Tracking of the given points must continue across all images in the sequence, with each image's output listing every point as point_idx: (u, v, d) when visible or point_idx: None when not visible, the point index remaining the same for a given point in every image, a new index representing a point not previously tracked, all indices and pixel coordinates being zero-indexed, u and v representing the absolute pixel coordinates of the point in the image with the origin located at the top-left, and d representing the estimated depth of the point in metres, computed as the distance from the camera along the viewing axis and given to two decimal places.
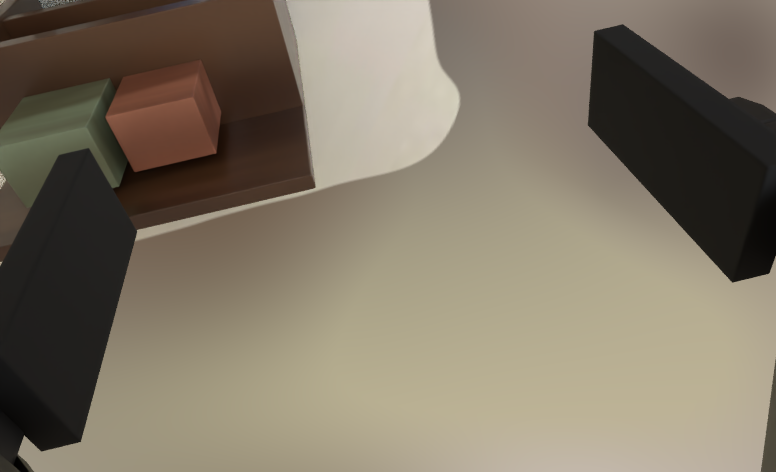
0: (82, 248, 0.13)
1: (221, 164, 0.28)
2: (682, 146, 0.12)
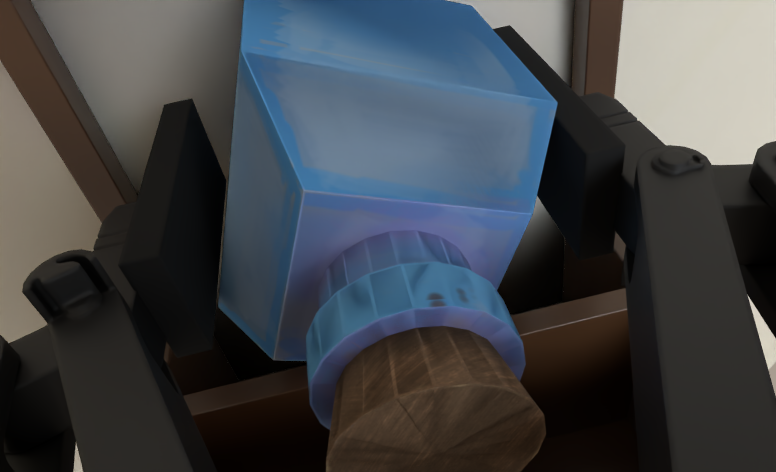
0: (196, 184, 0.14)
1: None
2: None
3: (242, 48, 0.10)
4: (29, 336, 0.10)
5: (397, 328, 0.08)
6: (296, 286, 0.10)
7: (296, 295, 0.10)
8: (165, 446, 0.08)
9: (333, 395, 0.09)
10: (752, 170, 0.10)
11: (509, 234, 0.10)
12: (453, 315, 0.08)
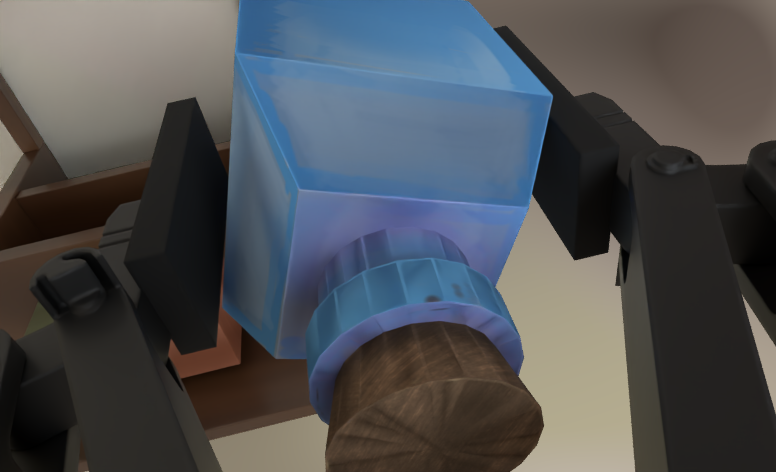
0: (200, 183, 0.14)
1: (245, 370, 0.27)
2: None
3: (236, 51, 0.10)
4: (35, 333, 0.10)
5: (394, 325, 0.08)
6: (295, 285, 0.10)
7: (296, 293, 0.10)
8: (170, 443, 0.08)
9: (332, 392, 0.09)
10: (746, 170, 0.10)
11: (506, 228, 0.10)
12: (448, 310, 0.08)
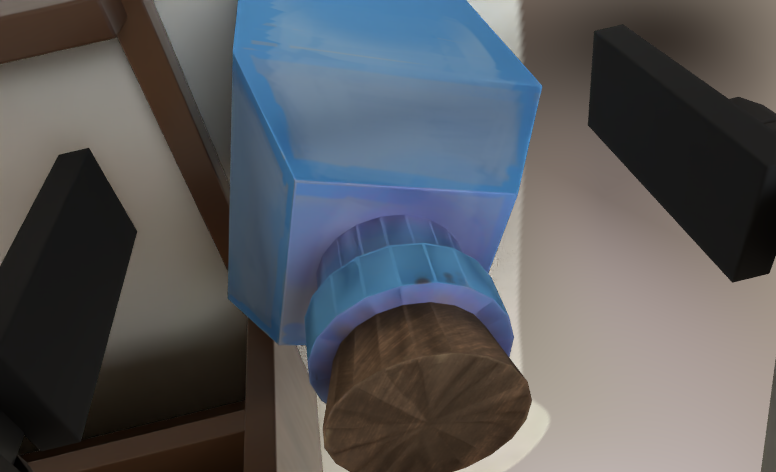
0: (82, 248, 0.13)
1: None
2: (682, 146, 0.12)
3: (234, 49, 0.11)
4: None
5: (386, 306, 0.09)
6: (295, 273, 0.11)
7: (296, 280, 0.11)
8: None
9: (331, 372, 0.09)
10: None
11: (496, 215, 0.11)
12: (438, 292, 0.09)
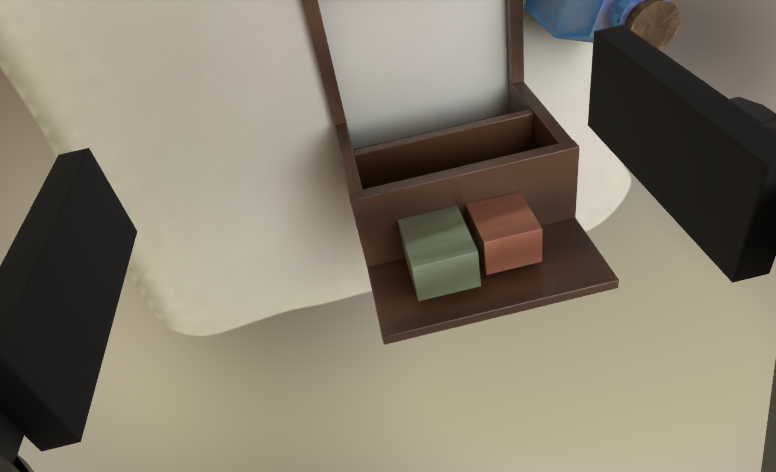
0: (82, 248, 0.13)
1: (541, 267, 0.41)
2: (682, 146, 0.12)
3: None
4: None
5: None
6: (604, 6, 0.37)
7: (603, 9, 0.38)
8: None
9: (624, 22, 0.36)
10: None
11: None
12: None
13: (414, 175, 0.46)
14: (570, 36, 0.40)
